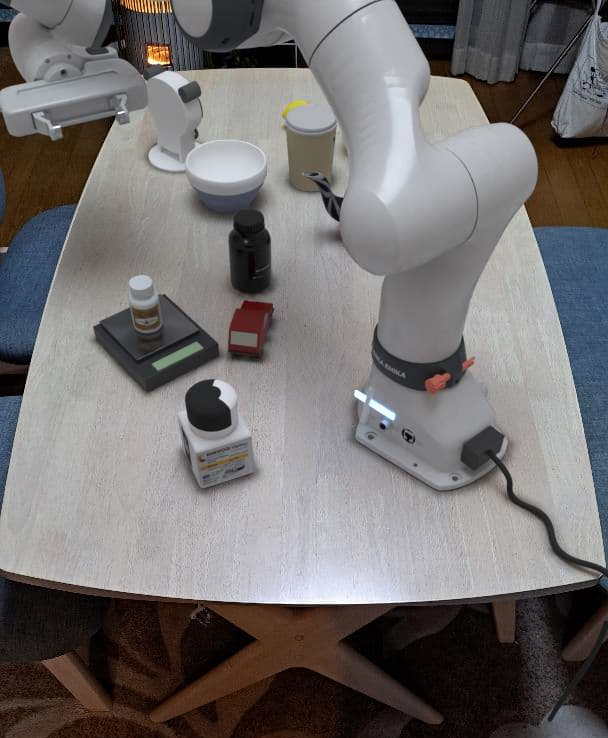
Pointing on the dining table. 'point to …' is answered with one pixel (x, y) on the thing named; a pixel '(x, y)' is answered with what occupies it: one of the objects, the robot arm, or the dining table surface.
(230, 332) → the toy truck
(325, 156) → the coffee cup
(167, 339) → the scale
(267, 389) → the dining table surface
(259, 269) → the supplement bottle
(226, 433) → the container
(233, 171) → the bowl
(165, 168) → the white device on stand
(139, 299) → the pill bottle
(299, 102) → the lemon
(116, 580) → the dining table surface
